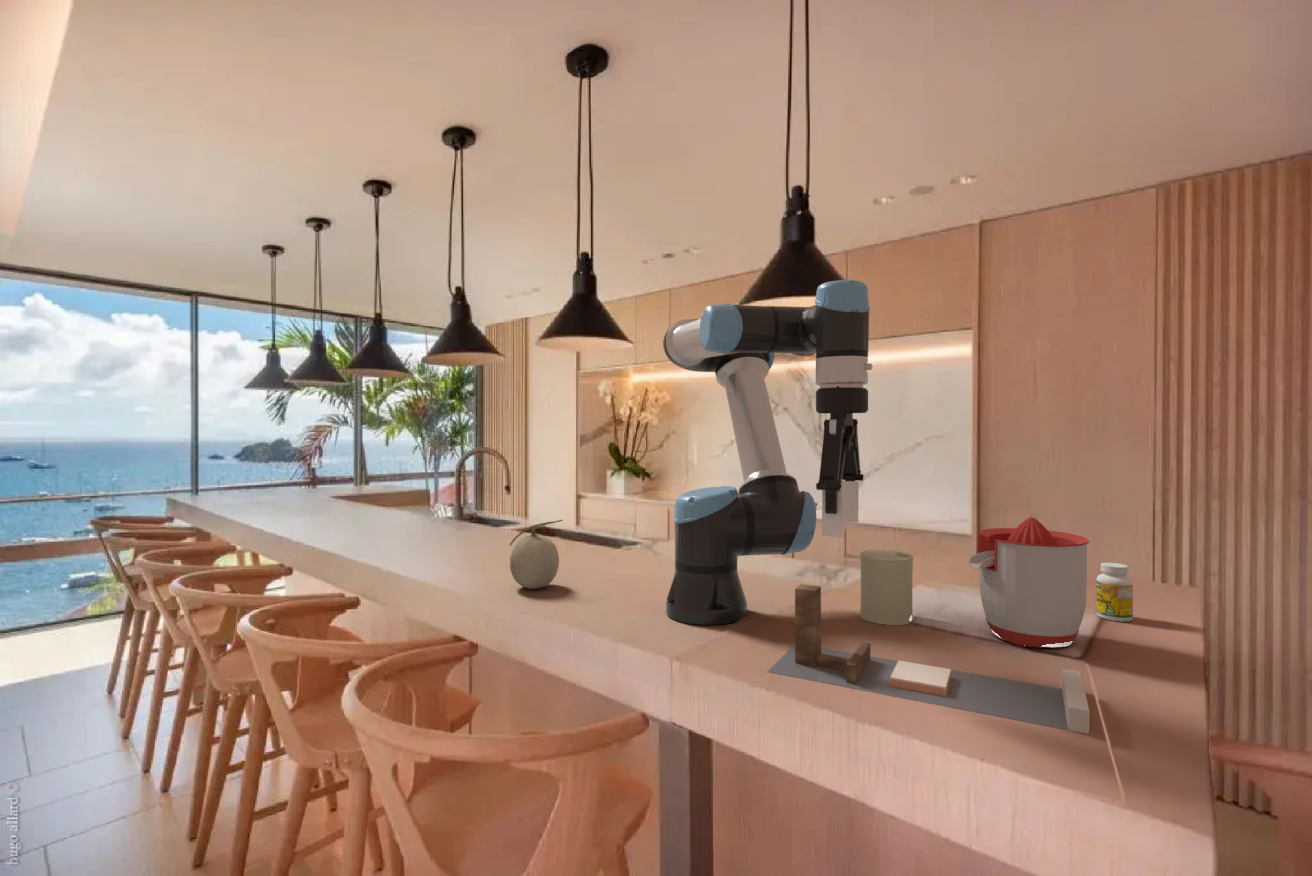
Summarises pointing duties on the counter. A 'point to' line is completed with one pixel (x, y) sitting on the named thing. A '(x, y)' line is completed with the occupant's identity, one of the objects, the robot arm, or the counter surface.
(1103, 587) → the supplement bottle
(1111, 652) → the counter surface
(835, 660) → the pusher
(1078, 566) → the citrus juicer
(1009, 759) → the counter surface
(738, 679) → the counter surface
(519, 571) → the fruit
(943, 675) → the tile
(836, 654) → the grey board
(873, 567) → the can
